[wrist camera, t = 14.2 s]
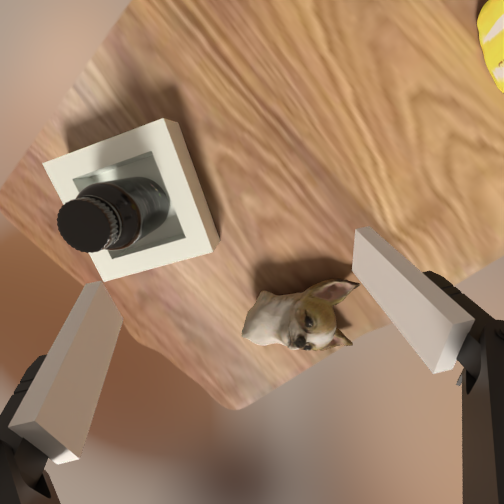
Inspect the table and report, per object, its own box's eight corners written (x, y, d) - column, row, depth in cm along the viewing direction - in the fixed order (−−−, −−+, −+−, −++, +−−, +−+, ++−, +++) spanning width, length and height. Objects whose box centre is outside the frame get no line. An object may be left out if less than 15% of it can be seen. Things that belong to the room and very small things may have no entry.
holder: (178, 122, 32) (163, 117, 28) (220, 240, 37) (213, 252, 32) (70, 162, 35) (42, 163, 30) (122, 268, 39) (103, 281, 35)
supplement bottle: (144, 240, 36) (86, 278, 25) (107, 198, 35) (27, 219, 24) (182, 209, 35) (137, 235, 23) (144, 163, 33) (77, 168, 22)
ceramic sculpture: (239, 304, 30) (379, 303, 29) (243, 271, 38) (353, 269, 37) (242, 381, 33) (367, 381, 33) (245, 335, 41) (345, 335, 41)
